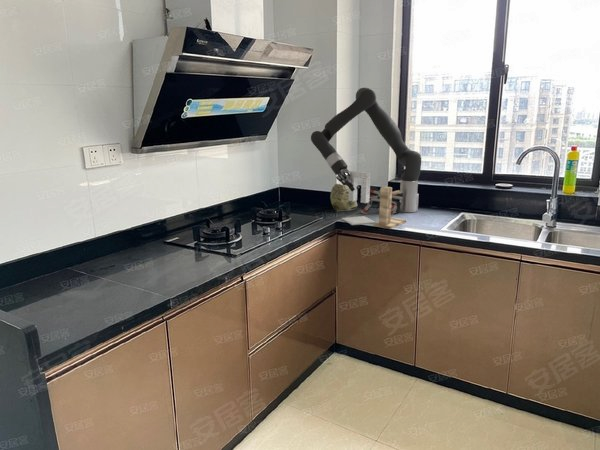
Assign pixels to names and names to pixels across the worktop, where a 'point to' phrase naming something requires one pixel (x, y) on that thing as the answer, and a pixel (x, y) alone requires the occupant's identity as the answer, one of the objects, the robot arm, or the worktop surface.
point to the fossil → (341, 198)
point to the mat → (358, 220)
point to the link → (364, 186)
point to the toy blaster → (376, 197)
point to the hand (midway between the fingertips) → (355, 189)
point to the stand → (387, 209)
